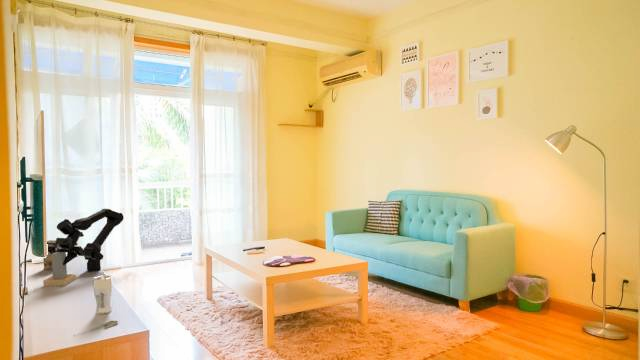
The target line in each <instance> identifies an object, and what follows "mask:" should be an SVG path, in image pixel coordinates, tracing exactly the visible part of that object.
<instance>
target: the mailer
mask: <svg viewBox="0 0 640 360" xmlns="http://www.w3.org/2000/svg"><path fill="white" fill-rule="evenodd" d="M80 277H81V275H76V274H75V273H67V276H66V277H64V278H62V279H61V278H53V275H51V276H49V277H48V278H45V279H43V280H42V283H43V287H65V286H67V285H69V284H70V283H72V282H74V281H75V280H77V279H78V278H79V279H80Z"/></svg>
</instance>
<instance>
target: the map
mask: <svg viewBox="0 0 640 360" xmlns="http://www.w3.org/2000/svg"><path fill="white" fill-rule="evenodd" d="M116 325H118V320H109V321H107V322H105V323H103V324H101V325H100V327H103V331H104V330H106V329H109V328H111V327H113V326H116ZM73 336H74V337H75V334H73Z"/></svg>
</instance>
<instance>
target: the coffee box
mask: <svg viewBox="0 0 640 360" xmlns="http://www.w3.org/2000/svg"><path fill="white" fill-rule="evenodd" d="M46 242H47V244H48V246H56V247H57V248H61V247H59V245H58V244H55V242H56V240H50V239H49V240H48V241H46ZM42 259H43V270H52V255H51V254H50V253H49V252H48V255H47V257H46V258H43V257H42Z"/></svg>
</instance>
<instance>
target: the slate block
mask: <svg viewBox="0 0 640 360" xmlns="http://www.w3.org/2000/svg"><path fill="white" fill-rule="evenodd" d="M66 256H67V252H55V253H53V254H52V276H53V278H61V279H62V278H64V277H66V276H67V274H68V271H67V268H68V267H67V264H65V265H63V262H64V260H65V258H66Z"/></svg>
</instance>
